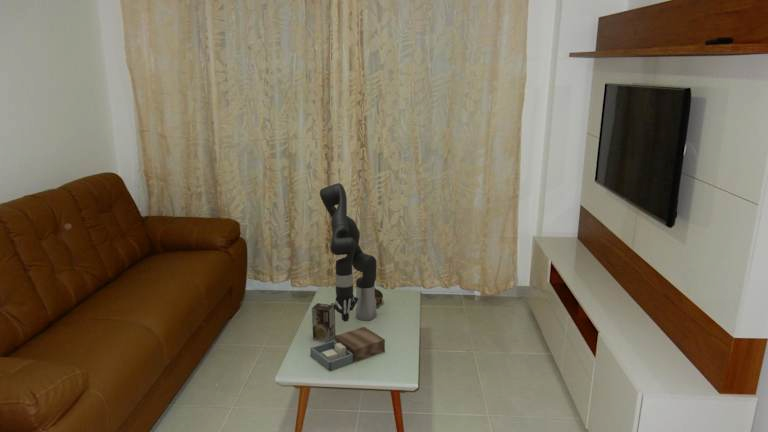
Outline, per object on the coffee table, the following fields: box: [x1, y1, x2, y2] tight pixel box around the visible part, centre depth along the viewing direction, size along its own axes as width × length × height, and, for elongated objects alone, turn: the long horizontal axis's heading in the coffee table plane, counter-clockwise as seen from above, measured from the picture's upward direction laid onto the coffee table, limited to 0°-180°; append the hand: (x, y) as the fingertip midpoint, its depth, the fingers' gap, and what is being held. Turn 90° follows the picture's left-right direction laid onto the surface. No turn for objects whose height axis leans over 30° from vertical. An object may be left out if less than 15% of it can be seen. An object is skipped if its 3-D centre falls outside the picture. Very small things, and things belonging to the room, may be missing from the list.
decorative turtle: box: [374, 286, 384, 307], centre depth 303 cm, size 10×15×8 cm, turn 18°
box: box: [309, 339, 355, 372], centre depth 244 cm, size 12×16×4 cm
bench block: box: [334, 326, 386, 363], centre depth 252 cm, size 16×16×6 cm
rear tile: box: [335, 343, 346, 358], centre depth 245 cm, size 5×5×2 cm
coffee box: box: [311, 302, 336, 343], centre depth 261 cm, size 9×6×16 cm
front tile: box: [322, 349, 338, 361], centre depth 243 cm, size 5×5×2 cm
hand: (345, 320), depth 244 cm, fingers closed
